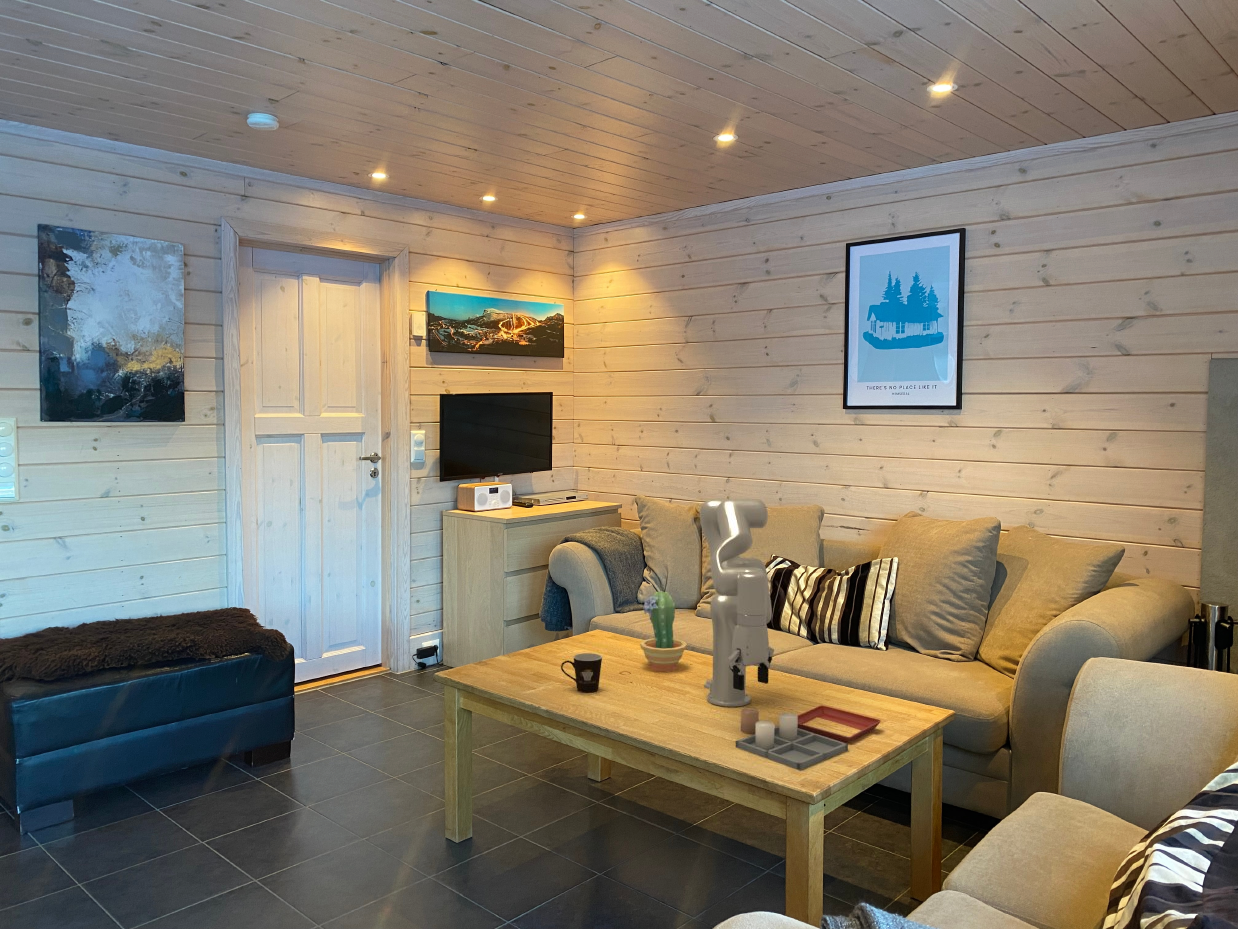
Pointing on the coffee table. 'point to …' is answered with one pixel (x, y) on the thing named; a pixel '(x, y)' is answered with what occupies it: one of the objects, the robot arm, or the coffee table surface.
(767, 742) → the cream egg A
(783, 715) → the cream rounded cylinder
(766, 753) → the gray divided tray
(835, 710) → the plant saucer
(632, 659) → the coffee table surface
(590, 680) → the coffee mug
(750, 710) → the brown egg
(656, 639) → the potted cactus
